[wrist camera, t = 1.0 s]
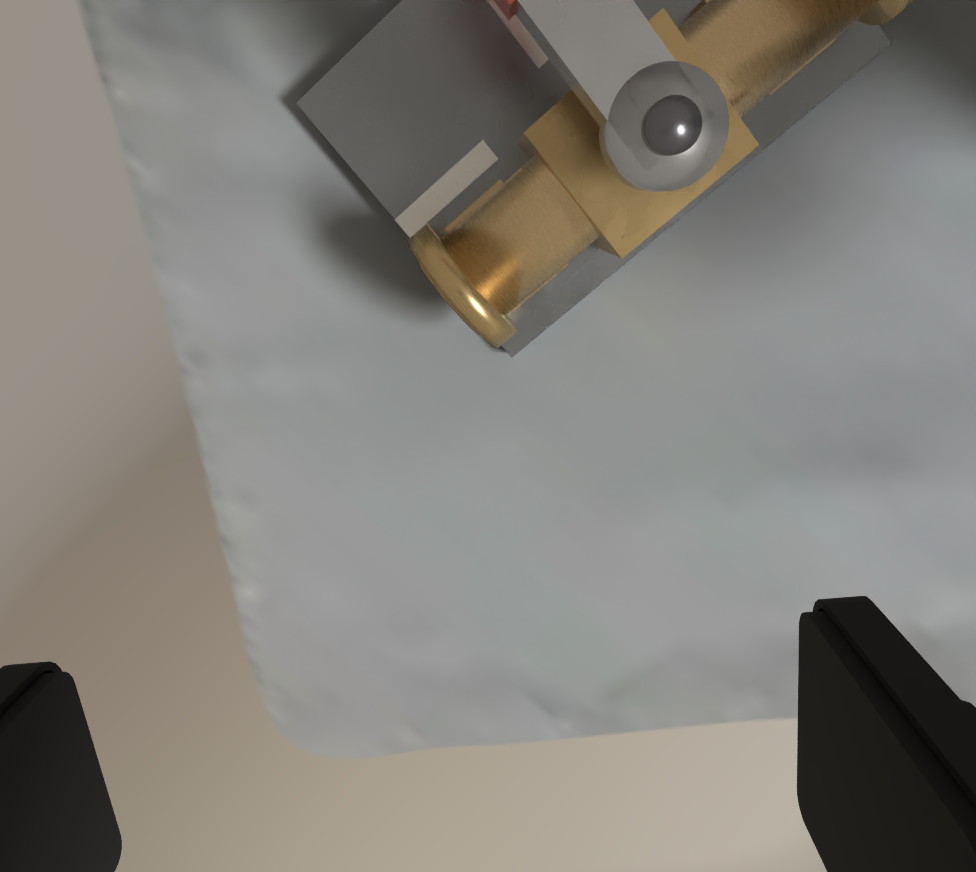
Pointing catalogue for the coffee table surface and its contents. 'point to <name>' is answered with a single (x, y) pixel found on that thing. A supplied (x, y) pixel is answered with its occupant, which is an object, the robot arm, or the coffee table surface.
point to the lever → (631, 89)
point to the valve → (555, 138)
